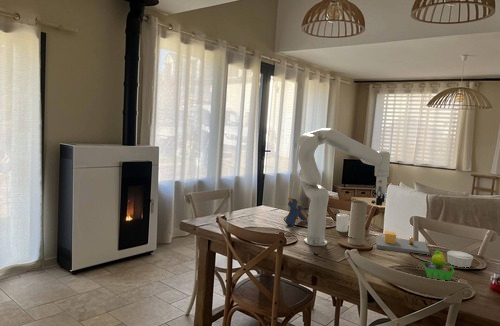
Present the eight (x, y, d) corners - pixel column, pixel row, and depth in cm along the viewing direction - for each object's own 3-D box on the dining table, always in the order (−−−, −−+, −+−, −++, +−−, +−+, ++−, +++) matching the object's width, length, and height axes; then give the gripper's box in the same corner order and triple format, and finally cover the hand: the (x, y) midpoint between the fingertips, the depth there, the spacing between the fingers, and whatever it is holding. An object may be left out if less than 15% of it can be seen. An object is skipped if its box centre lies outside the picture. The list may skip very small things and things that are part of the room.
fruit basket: (424, 278, 162) (426, 253, 161) (422, 271, 170) (424, 247, 169) (453, 283, 158) (456, 257, 157) (450, 276, 166) (453, 251, 165)
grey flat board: (429, 255, 192) (429, 251, 192) (376, 248, 200) (376, 244, 199) (424, 245, 209) (424, 241, 209) (375, 239, 217) (376, 235, 217)
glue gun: (302, 237, 248) (310, 217, 254) (287, 217, 225) (296, 196, 231) (294, 234, 251) (302, 215, 257) (279, 215, 228) (288, 194, 234)
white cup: (339, 228, 237) (340, 212, 236) (350, 231, 231) (351, 215, 230) (332, 230, 231) (334, 214, 230) (343, 233, 226) (345, 217, 225)
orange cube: (395, 243, 202) (396, 235, 202) (384, 242, 204) (385, 233, 204) (394, 241, 208) (395, 232, 207) (384, 239, 209) (384, 231, 209)
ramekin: (461, 270, 173) (462, 259, 173) (440, 262, 184) (441, 251, 183) (477, 267, 178) (478, 257, 177) (456, 259, 188) (457, 249, 188)
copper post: (413, 245, 201) (414, 238, 201) (409, 244, 202) (409, 238, 202) (413, 244, 203) (413, 237, 203) (408, 243, 204) (409, 237, 204)
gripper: (387, 175, 197) (385, 207, 199) (390, 172, 212) (389, 201, 214) (372, 174, 200) (370, 205, 202) (376, 171, 215) (375, 200, 217)
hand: (380, 203), depth 208 cm, fingers open, 9 cm apart
